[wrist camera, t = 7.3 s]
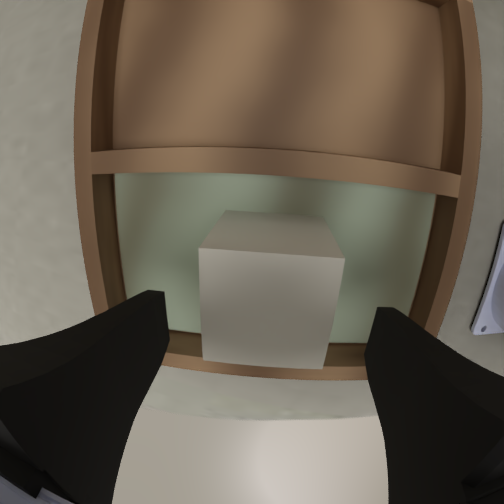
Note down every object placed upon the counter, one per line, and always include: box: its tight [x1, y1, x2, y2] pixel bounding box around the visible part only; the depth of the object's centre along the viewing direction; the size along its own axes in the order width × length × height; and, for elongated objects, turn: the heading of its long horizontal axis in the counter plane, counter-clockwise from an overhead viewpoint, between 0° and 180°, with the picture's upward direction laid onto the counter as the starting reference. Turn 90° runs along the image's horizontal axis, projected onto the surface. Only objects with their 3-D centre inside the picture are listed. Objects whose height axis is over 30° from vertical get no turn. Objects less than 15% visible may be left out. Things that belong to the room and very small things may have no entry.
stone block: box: [199, 210, 345, 369], centre depth 12 cm, size 4×4×5 cm
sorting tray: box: [74, 0, 482, 380], centre depth 13 cm, size 18×21×3 cm
